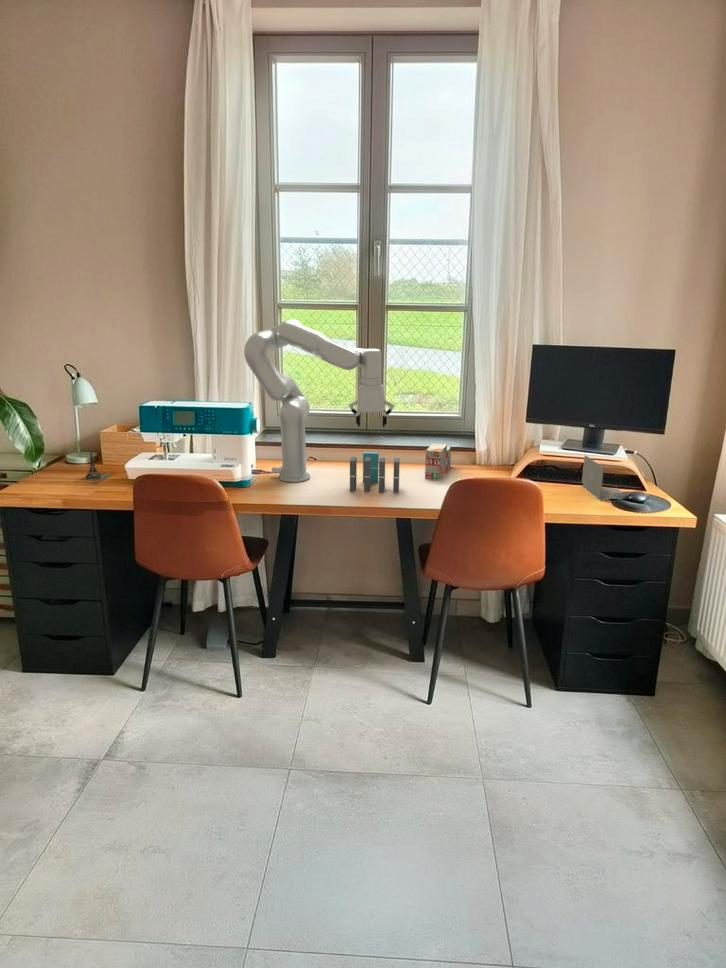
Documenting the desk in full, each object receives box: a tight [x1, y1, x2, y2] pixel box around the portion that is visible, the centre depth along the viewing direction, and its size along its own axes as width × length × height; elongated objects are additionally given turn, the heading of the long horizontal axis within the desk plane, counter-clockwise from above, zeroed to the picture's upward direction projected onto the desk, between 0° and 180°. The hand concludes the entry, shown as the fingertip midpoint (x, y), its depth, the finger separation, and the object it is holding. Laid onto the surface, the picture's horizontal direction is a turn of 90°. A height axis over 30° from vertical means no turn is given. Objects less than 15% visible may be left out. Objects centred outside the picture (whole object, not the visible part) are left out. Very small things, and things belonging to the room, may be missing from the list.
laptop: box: [581, 455, 624, 502], centre depth 250 cm, size 18×12×13 cm
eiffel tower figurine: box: [85, 447, 112, 485], centre depth 264 cm, size 15×10×13 cm
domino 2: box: [363, 457, 372, 493], centre depth 252 cm, size 2×6×12 cm, turn 175°
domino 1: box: [349, 456, 358, 493], centre depth 252 cm, size 2×6×12 cm, turn 175°
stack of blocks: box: [424, 443, 452, 481], centre depth 275 cm, size 21×6×12 cm, turn 161°
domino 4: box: [392, 457, 401, 494], centre depth 251 cm, size 2×6×12 cm, turn 175°
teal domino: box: [362, 451, 380, 484], centre depth 261 cm, size 2×6×12 cm, turn 85°
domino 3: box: [378, 457, 386, 493], centre depth 252 cm, size 2×6×12 cm, turn 175°
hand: (371, 426), depth 257 cm, fingers open, 9 cm apart
